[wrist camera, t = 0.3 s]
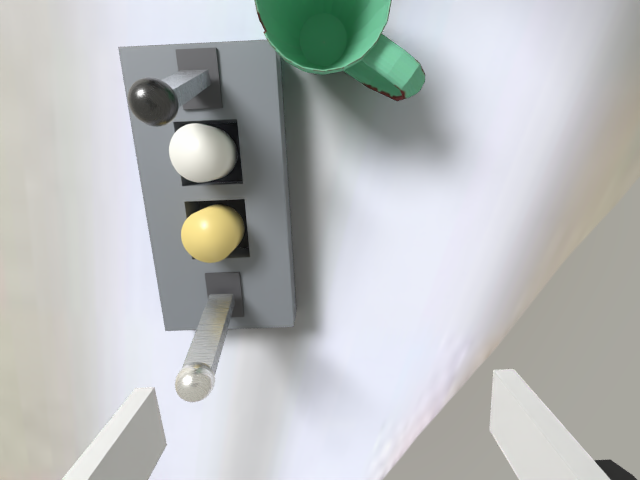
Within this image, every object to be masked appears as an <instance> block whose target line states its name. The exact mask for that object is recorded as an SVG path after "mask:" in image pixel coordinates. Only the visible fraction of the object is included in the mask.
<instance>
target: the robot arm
mask: <svg viewBox="0 0 640 480" xmlns="http://www.w3.org/2000/svg"><path fill="white" fill-rule="evenodd" d="M490 432H491V433H492V435H493V437H494V438H495V440H496V442H497V444H498V445H499V447H500V449H501V450H502V452H503V453H504V455H505V457H506V459H507V460H508V462H509V464H510V465H511V467H512V469H513V470H514V472H515V474H516V476H517V477H518V479H519V480H637V479H636V478H635V477H634V476H633V475H632V474H630V473H629V472H627V471H626V470H624V469H623V468H621V467H620V466H619V465H617V464H616V463H614V462H613V461H612V460H593V459H592V458H591V457H590V455H589V454H588V453H587V452H586V451H585V450H584V449H583V447H582V446H581V445H580V444H579V443H578V442H577V441H576V440H575V438H574V437H573V436H572V435H571V434H570V433H569V431H568V430H567V429H566V428H565V427H564V426H563V425H562V423H561V422H560V421H559V420H558V419H557V418H556V417H555V415H554V414H553V413H552V412H551V411H550V410H549V409H548V407H547V406H546V405H545V404H544V403H543V402H542V401H541V400H540V398H539V397H538V396H537V395H536V394H535V393H534V392H533V390H532V389H531V388H530V387H529V386H528V385H527V383H526V382H525V381H524V380H523V379H522V378H521V377H520V375H519V374H518V373H517V372H516V371H515V370H514V369H503V370H493V386H492V400H491V417H490ZM166 445H167V444H166V439H165V435H164V430H163V425H162V420H161V416H160V411H159V406H158V402H157V397H156V392H155V388H154V387H147V388H135V389H134V390H133V391H132V393H131V394H130V395H129V396H128V398H127V399H126V400H125V401H124V403H123V404H122V405H121V406H120V408H119V409H118V410H117V411H116V413H115V414H114V415H113V416H112V418H111V419H110V420H109V421H108V423H107V424H106V425H105V426H104V428H103V429H102V430H101V431H100V433H99V434H98V435H97V436H96V438H95V439H94V440H93V441H92V443H91V444H90V445H89V446H88V448H87V449H86V450H85V451H84V453H83V454H82V455H81V456H80V458H79V459H78V460H77V461H76V463H75V464H74V465H73V466H72V468H71V469H70V470H69V471H68V473H67V474H66V475H65V476H64V478H63V479H62V480H148V479H149V477H150V475H151V473H152V471H153V470H154V468H155V466H156V464H157V462H158V460H159V458H160V457H161V455H162V453H163V451H164V449H165V447H166Z"/></svg>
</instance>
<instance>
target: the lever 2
mask: <svg viewBox="0 0 640 480" xmlns="http://www.w3.org/2000/svg"><path fill="white" fill-rule="evenodd" d="M234 305H235V299H234V295H233V294H211V295H209V298H208V301H207V303H206V306H205V309H204V311H203V314H202V317H201V319H200V322H199V324H198V327H197V330H196V332H195V335H194V338H193V340H192V343H191V346H190V348H189V351H188V354H187V356H186V359H185V362H184V364H183V367H182V369H181V370H180V372H179V373H178V375H177V377H176V381H175V388H176V392H177V394H178V395H179V397H180V398H182V399H183V400H185V401H187V402H198V401H201V400H203V399H204V398H206V397H207V396H208V395H209V394H210V392H211V391H212V389H213V387H214V383H215V373H216V369H217V366H218V362H219V358H220V355H221V351H222V348H223V344H224V341H225V337H226V333H227V330H228V326H229V323H230V319H231V316H232V312H233V309H234Z"/></svg>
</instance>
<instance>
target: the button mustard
mask: <svg viewBox="0 0 640 480" xmlns="http://www.w3.org/2000/svg"><path fill="white" fill-rule="evenodd" d="M244 233H245V226H244V222H243V219H242V217H241V216H240V214H239V213H238V212H237V211H236V210H235V209H233V208H232V207H230V206H228V205H224V204H214V205H211V206H208V207H206V208H204V209H202V210H200V211H197V212H195V213H193V214H192V215H190V216H189V217H188V218H187V219H186V220H185V222H184V224H183V226H182V230H181V239H182V243H183V245H184V247H185V249H186V251H187V252H188V253H189V254H190V255H191V256H192V257H194V258H195V259H197V260H199V261H202V262H206V263H215V262H219V261H221V260H223V259H225V258H226V257H227V256H228V255H229V254H230V253H231V252H232V251H233V250H234V249H235V248H236V247H237V246H238V245H239V244H240V242H241V241H242V239H243V237H244Z"/></svg>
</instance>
